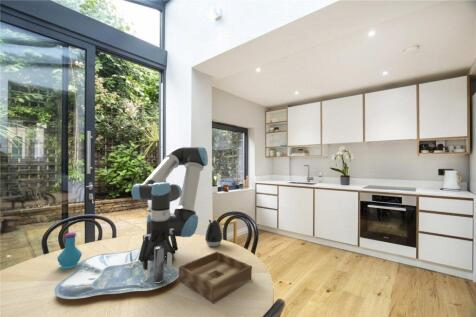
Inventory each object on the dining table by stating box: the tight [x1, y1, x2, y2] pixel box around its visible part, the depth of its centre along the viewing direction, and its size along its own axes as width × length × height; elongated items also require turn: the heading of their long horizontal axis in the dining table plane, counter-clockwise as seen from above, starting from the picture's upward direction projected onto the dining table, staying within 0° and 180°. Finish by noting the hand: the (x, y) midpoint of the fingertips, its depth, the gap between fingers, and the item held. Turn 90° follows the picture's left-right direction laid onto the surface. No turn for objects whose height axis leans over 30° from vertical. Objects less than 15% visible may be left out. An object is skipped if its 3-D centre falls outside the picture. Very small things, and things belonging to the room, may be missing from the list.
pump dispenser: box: [204, 219, 223, 248], centre depth 134 cm, size 10×10×15 cm
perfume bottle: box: [57, 232, 83, 270], centre depth 104 cm, size 9×9×15 cm
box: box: [178, 251, 253, 304], centre depth 94 cm, size 22×22×6 cm
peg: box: [152, 246, 165, 283], centre depth 93 cm, size 4×4×14 cm
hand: (158, 272), depth 93 cm, fingers open, 9 cm apart
